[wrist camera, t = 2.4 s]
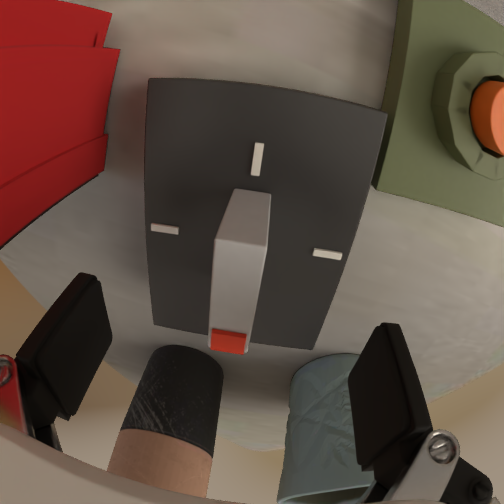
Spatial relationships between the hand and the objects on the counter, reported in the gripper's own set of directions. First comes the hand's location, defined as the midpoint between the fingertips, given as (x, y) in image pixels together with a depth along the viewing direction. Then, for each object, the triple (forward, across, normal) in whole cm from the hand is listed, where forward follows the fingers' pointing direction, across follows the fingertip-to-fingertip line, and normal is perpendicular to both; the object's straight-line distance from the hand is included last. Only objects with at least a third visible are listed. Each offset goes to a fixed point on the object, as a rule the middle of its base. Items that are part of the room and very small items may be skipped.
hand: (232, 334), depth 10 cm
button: (+6, -11, -9) cm, 16 cm away
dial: (+6, 0, 0) cm, 6 cm away
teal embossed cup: (+10, -10, +16) cm, 21 cm away
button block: (+10, -11, -10) cm, 17 cm away
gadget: (+10, 0, 0) cm, 10 cm away
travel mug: (+10, +4, +16) cm, 20 cm away
